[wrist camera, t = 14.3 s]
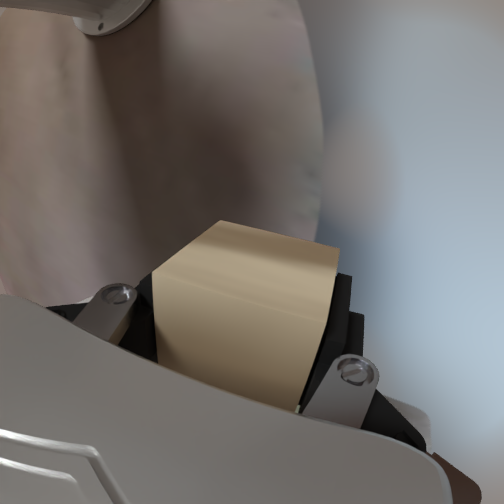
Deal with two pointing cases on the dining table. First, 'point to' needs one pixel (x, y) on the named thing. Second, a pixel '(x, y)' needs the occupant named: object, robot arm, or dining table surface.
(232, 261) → the maple block
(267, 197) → the dining table surface
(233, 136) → the dining table surface
